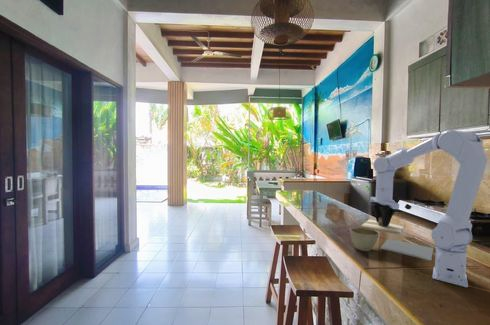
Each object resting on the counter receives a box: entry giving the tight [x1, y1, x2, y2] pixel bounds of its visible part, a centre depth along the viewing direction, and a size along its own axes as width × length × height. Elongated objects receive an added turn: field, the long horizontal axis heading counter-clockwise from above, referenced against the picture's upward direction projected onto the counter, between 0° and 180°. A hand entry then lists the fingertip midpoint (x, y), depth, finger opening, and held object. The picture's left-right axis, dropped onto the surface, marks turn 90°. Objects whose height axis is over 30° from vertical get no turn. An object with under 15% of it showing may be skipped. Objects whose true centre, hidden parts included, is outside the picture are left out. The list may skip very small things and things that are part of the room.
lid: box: [360, 217, 406, 236], centre depth 98 cm, size 13×13×4 cm
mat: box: [379, 238, 434, 261], centre depth 99 cm, size 16×16×1 cm
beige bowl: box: [349, 227, 380, 252], centre depth 98 cm, size 10×10×7 cm
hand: (382, 223), depth 98 cm, fingers closed on lid, 3 cm apart
